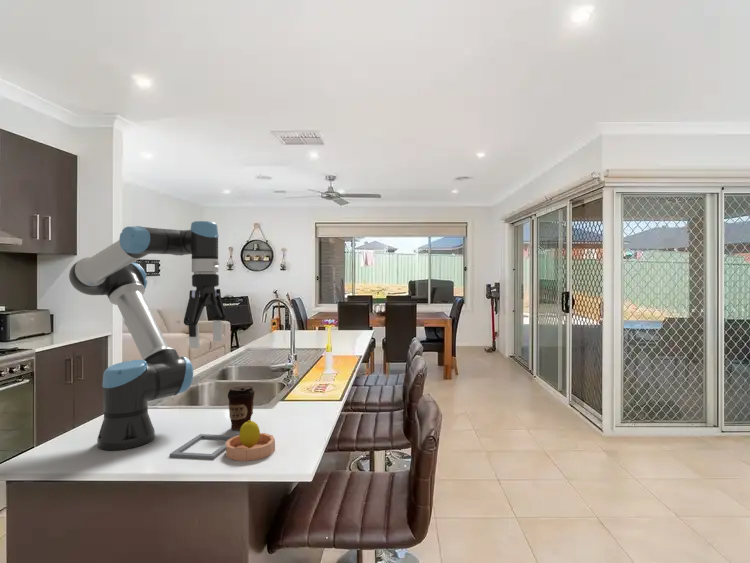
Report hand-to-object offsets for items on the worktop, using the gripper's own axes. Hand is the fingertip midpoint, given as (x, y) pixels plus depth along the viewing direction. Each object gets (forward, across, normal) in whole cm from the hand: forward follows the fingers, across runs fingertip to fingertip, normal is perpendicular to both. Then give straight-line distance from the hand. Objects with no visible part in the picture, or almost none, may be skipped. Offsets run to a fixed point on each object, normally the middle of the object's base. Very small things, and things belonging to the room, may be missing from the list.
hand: (206, 344), depth 139 cm
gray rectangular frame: (+29, -6, -2) cm, 29 cm away
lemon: (+28, -7, -16) cm, 33 cm away
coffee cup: (+29, +12, -5) cm, 32 cm away
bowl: (+29, -7, -16) cm, 34 cm away
